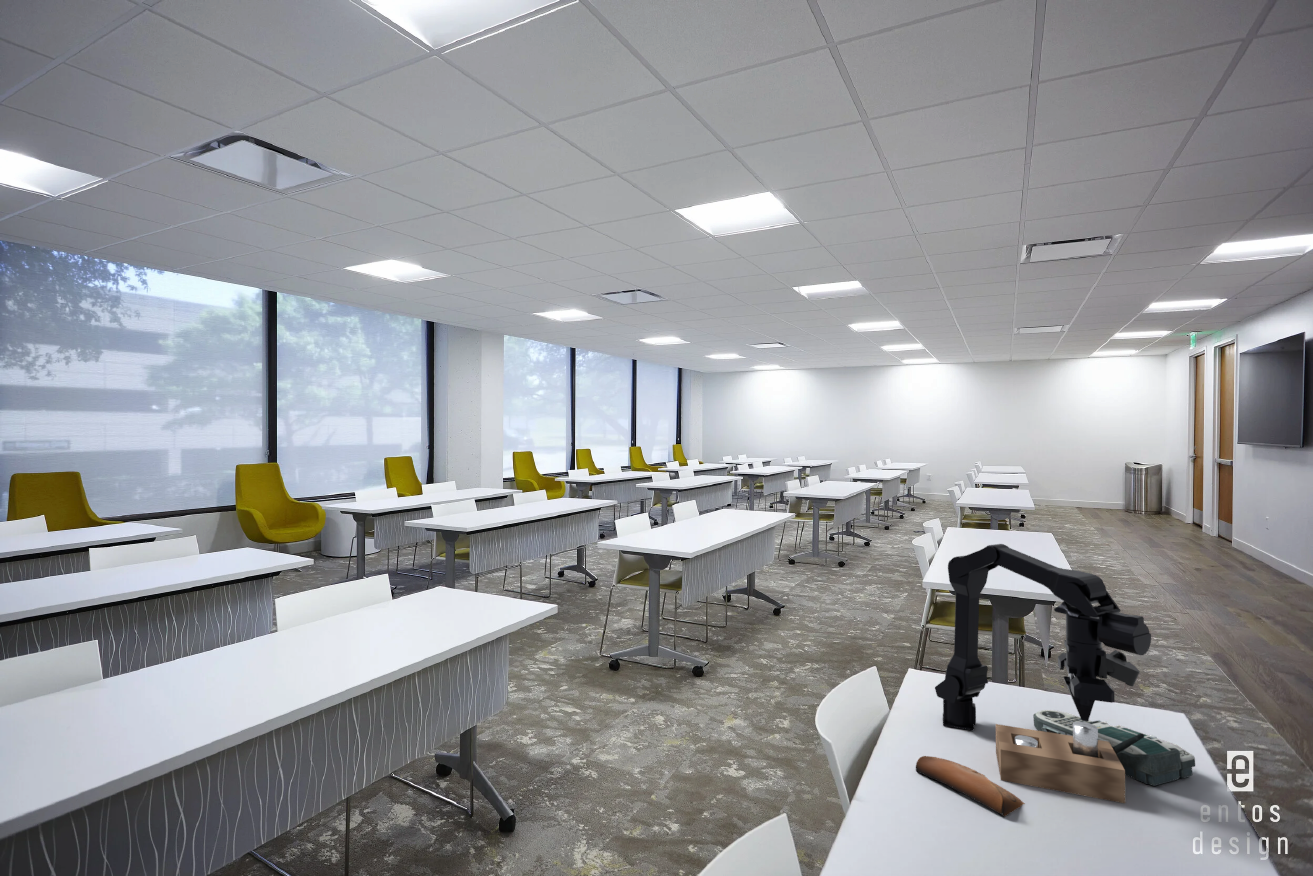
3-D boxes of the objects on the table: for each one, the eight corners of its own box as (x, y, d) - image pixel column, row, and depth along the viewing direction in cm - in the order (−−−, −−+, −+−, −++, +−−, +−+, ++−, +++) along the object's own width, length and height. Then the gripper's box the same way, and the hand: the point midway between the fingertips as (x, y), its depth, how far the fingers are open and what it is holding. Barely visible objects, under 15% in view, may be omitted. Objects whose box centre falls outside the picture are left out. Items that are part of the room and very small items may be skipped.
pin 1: (1016, 772, 126) (1015, 742, 126) (1014, 763, 130) (1013, 734, 130) (1039, 777, 124) (1039, 746, 124) (1036, 767, 128) (1036, 737, 128)
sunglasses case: (1029, 803, 115) (1018, 777, 114) (1011, 834, 112) (999, 807, 111) (940, 761, 131) (930, 737, 129) (922, 786, 128) (911, 763, 126)
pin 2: (1075, 759, 122) (1075, 728, 122) (1071, 750, 125) (1071, 720, 125) (1100, 764, 120) (1099, 732, 120) (1095, 754, 124) (1095, 723, 124)
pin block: (1000, 780, 123) (1000, 749, 123) (995, 752, 134) (995, 724, 134) (1125, 803, 115) (1125, 770, 115) (1109, 771, 126) (1108, 741, 126)
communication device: (1064, 721, 150) (1063, 677, 151) (1198, 779, 124) (1197, 725, 124) (1018, 730, 146) (1017, 684, 146) (1148, 793, 119) (1147, 737, 119)
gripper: (1148, 660, 111) (1150, 749, 111) (1121, 631, 128) (1122, 708, 128) (1073, 652, 116) (1075, 738, 116) (1057, 625, 133) (1057, 699, 133)
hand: (1084, 720), depth 123 cm, fingers closed
